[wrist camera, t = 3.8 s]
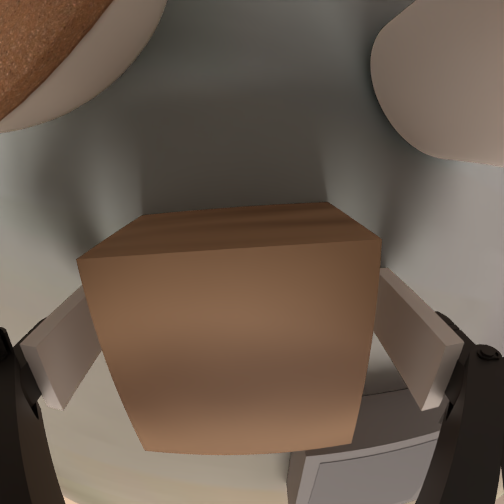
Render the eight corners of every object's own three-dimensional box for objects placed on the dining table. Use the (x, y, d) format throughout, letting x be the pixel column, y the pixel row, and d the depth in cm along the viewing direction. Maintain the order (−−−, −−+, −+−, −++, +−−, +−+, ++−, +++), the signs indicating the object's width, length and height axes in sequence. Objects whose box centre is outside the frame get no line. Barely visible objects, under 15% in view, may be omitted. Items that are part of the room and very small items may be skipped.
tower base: (296, 402, 16) (306, 457, 13) (444, 380, 16) (471, 420, 13) (286, 483, 19) (290, 524, 16) (402, 465, 19) (416, 500, 16)
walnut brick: (143, 214, 13) (76, 259, 8) (326, 201, 13) (381, 239, 7) (172, 363, 16) (144, 450, 10) (323, 356, 16) (351, 443, 10)
